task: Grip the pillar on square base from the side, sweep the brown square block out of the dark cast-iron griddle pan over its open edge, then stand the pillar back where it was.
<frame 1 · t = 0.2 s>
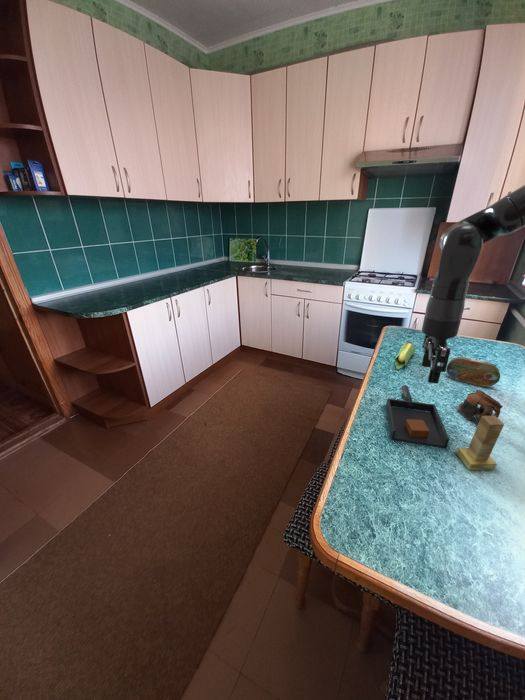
hand: (429, 374, 76), 17 cm above the table, tool pointing down, fingers open, 8 cm apart
brown square block: (415, 431, 79), point 1 cm above the table, touching pan
edible corn: (403, 360, 116), on the table
tin: (468, 381, 102), on the table
pillar on square base: (474, 461, 71), on the table
pan: (413, 426, 82), on the table
pottery mug: (477, 416, 85), on the table
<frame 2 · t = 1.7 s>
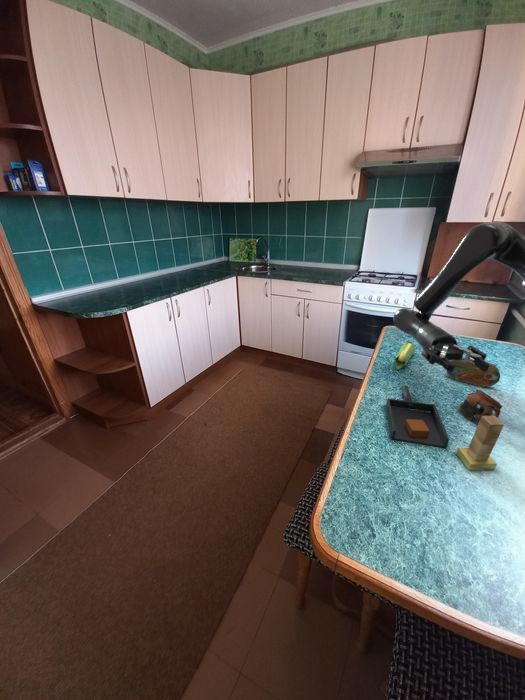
hand: (469, 368, 72), 20 cm above the table, tool horizontal, fingers open, 8 cm apart
nothing on the table moved.
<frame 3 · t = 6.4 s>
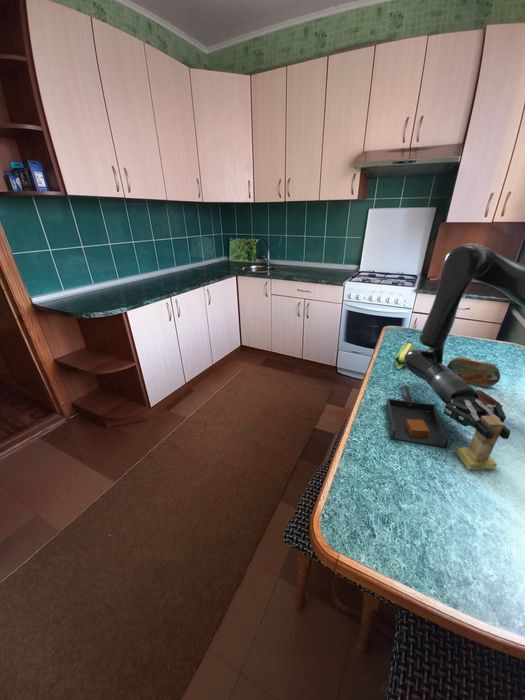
hand: (499, 435, 63), 11 cm above the table, tool horizontal, fingers closed on pillar on square base, 3 cm apart
pillar on square base: (474, 461, 71), on the table, touching gripper
everything else where it was.
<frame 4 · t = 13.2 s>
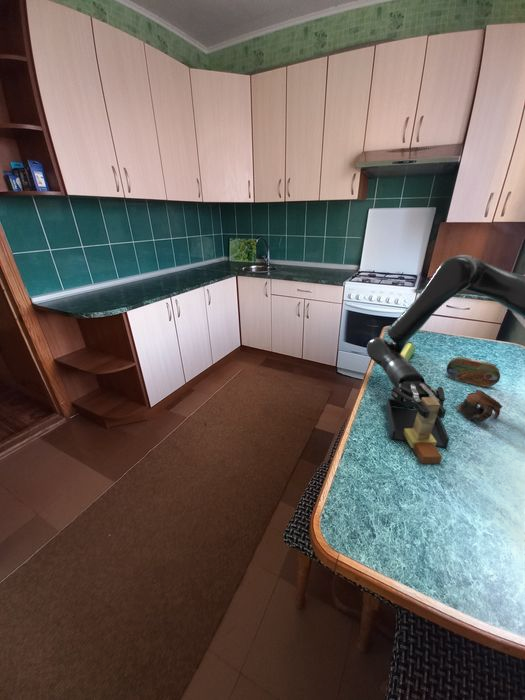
hand: (435, 415, 68), 12 cm above the table, tool horizontal, fingers closed on pillar on square base, 3 cm apart
brown square block: (426, 456, 72), on the table
pillar on square base: (418, 440, 76), point 1 cm above the table, touching gripper
everything else where it was.
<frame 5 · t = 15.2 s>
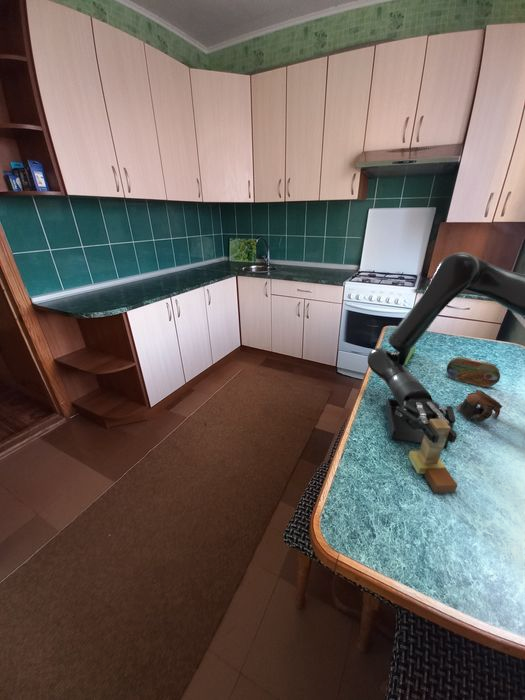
hand: (445, 439, 61), 12 cm above the table, tool horizontal, fingers closed on pillar on square base, 3 cm apart
brown square block: (439, 484, 65), on the table, touching pillar on square base
pillar on square base: (425, 464, 69), point 1 cm above the table, touching brown square block, gripper
everything else where it was.
when the fingers open (11 cm above the table, at t = 21.2 s): pillar on square base stays where it is, on the table.
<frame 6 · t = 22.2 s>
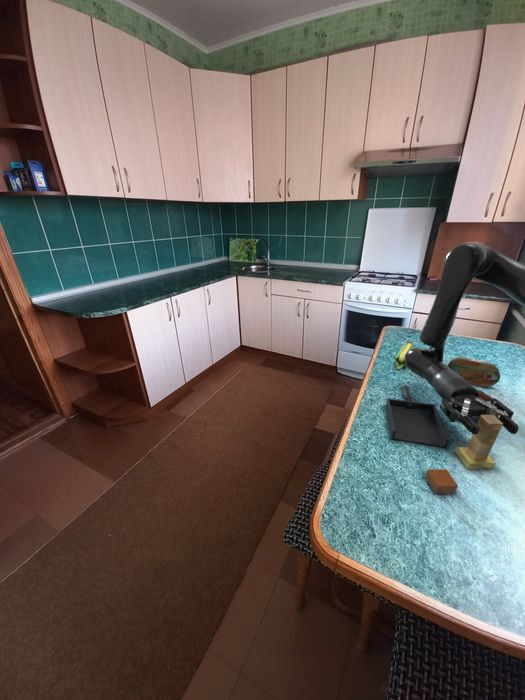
hand: (496, 431, 64), 11 cm above the table, tool horizontal, fingers open, 8 cm apart
brown square block: (439, 484, 65), on the table
pillar on square base: (473, 460, 71), on the table
everything else where it was.
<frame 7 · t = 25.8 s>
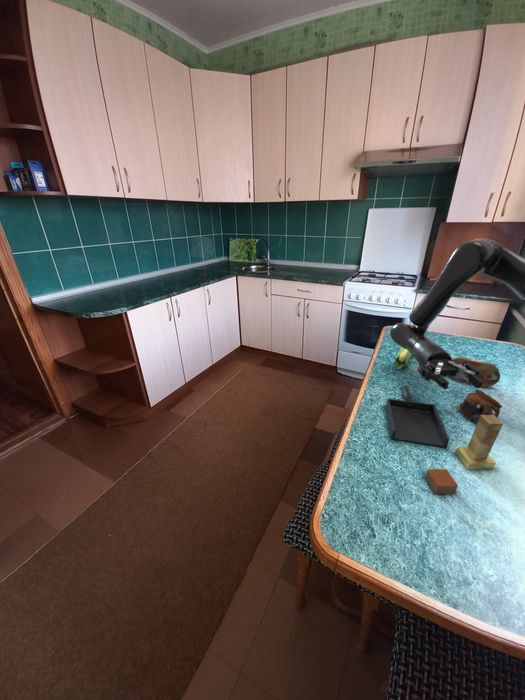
hand: (463, 385, 74), 15 cm above the table, tool horizontal, fingers open, 8 cm apart
nothing on the table moved.
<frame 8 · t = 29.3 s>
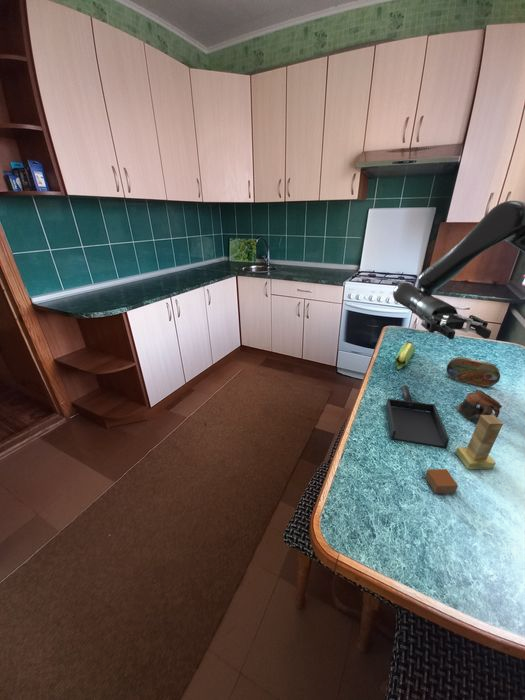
hand: (471, 335, 69), 28 cm above the table, tool horizontal, fingers open, 8 cm apart
nothing on the table moved.
at the end: brown square block inside the target area (3.1 cm from its centre), on the table; pillar on square base inside the target area (0.8 cm from its centre), on the table; pillar on square base tilted 0° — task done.
